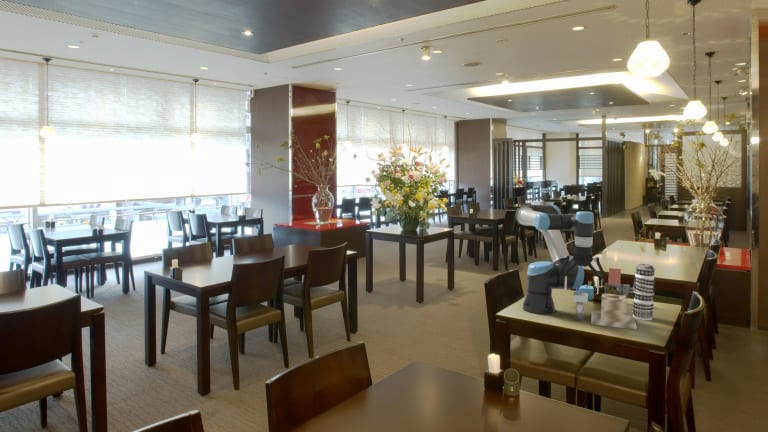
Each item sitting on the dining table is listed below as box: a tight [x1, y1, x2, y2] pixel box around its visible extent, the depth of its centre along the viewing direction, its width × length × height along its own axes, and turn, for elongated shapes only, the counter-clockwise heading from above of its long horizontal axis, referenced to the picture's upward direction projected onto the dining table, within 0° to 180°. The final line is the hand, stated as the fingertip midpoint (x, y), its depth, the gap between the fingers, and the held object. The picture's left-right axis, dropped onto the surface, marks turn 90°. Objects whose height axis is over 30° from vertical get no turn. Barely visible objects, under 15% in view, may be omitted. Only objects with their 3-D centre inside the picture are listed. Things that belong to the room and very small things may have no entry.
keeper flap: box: [607, 267, 622, 288], centre depth 231 cm, size 5×8×1 cm
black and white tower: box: [631, 263, 657, 321], centre depth 232 cm, size 9×9×25 cm
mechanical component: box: [614, 283, 635, 299], centre depth 256 cm, size 3×10×10 cm, turn 78°
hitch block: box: [590, 282, 637, 330], centre depth 225 cm, size 18×16×16 cm
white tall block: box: [572, 291, 589, 322], centre depth 228 cm, size 6×6×12 cm
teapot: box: [575, 284, 595, 301], centre depth 265 cm, size 12×6×8 cm, turn 67°
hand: (581, 292), depth 227 cm, fingers open, 13 cm apart
